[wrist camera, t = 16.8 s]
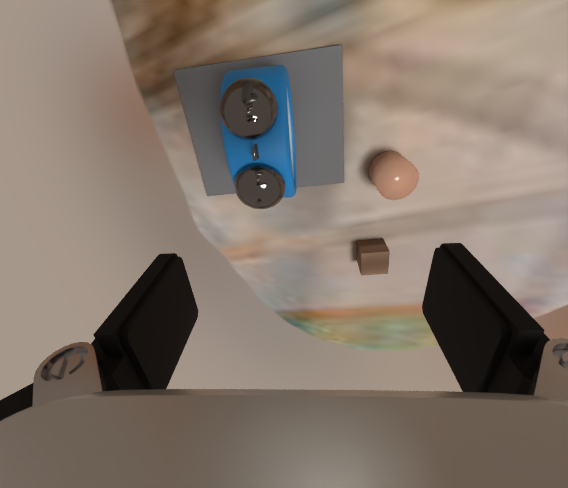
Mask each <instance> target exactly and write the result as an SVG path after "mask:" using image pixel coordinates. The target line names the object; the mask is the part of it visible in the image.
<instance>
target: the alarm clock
mask: <svg viewBox="0 0 568 488" xmlns="http://www.w3.org/2000/svg"><path fill="white" fill-rule="evenodd" d="M220 114H221V127H222V136H223V143H224V149H225V154H226V159H227V163H228V167H229V171H230V174H231V178H232V181H233V183H234V186H235V192H236V194H237V196H238V198H239V199H240V200H241V201H242V202H243V203H244V204H245V205H247V206H249V207H251V208H255V209H267V208H270V207H273V206H275V205H276V204H278V203H279V202H280V201H281V199H282V198H284V197H293V196H294V195H295V193H296V155H295V138H294V124H293V111H292V100H291V91H290V82H289V75H288V71H287V68H286V67H285V66H284V65H273V66H265V67H256V68H247V69H239V70H231V71H228V72H227V73H226V74H225V75H224V78H223V81H222V85H221V94H220Z"/></svg>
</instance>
